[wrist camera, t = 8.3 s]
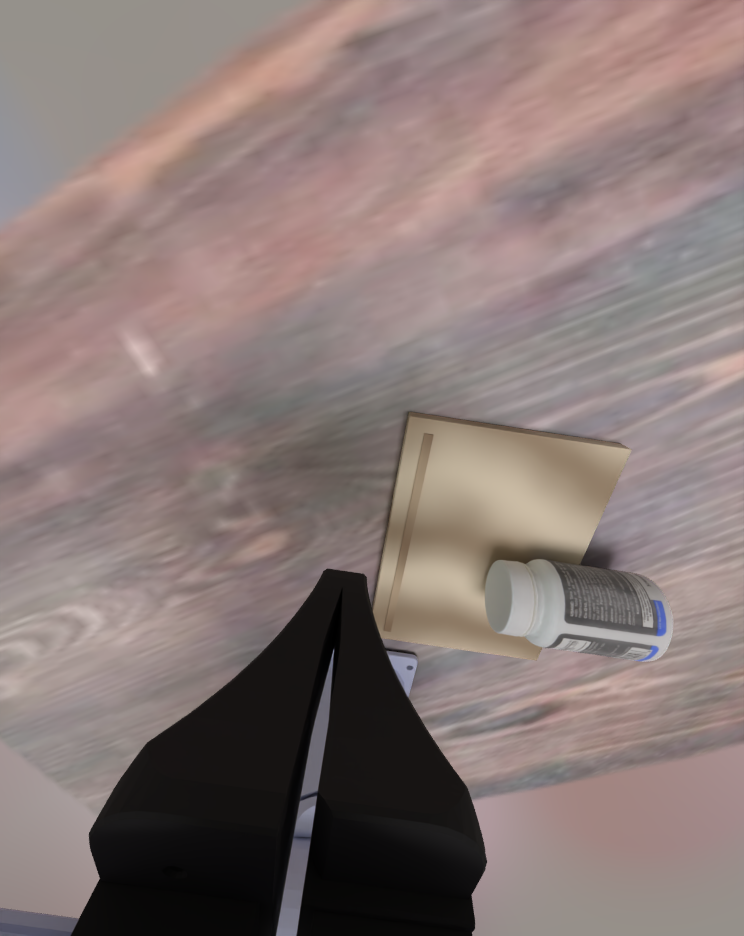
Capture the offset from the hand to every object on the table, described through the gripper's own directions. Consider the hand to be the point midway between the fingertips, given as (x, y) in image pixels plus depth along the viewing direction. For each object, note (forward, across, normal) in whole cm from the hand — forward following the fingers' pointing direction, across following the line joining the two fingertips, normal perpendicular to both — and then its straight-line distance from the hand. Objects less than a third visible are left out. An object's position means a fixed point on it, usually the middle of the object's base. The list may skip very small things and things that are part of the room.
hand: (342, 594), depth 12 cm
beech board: (+10, -8, +4) cm, 14 cm away
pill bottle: (+7, -17, +5) cm, 19 cm away
